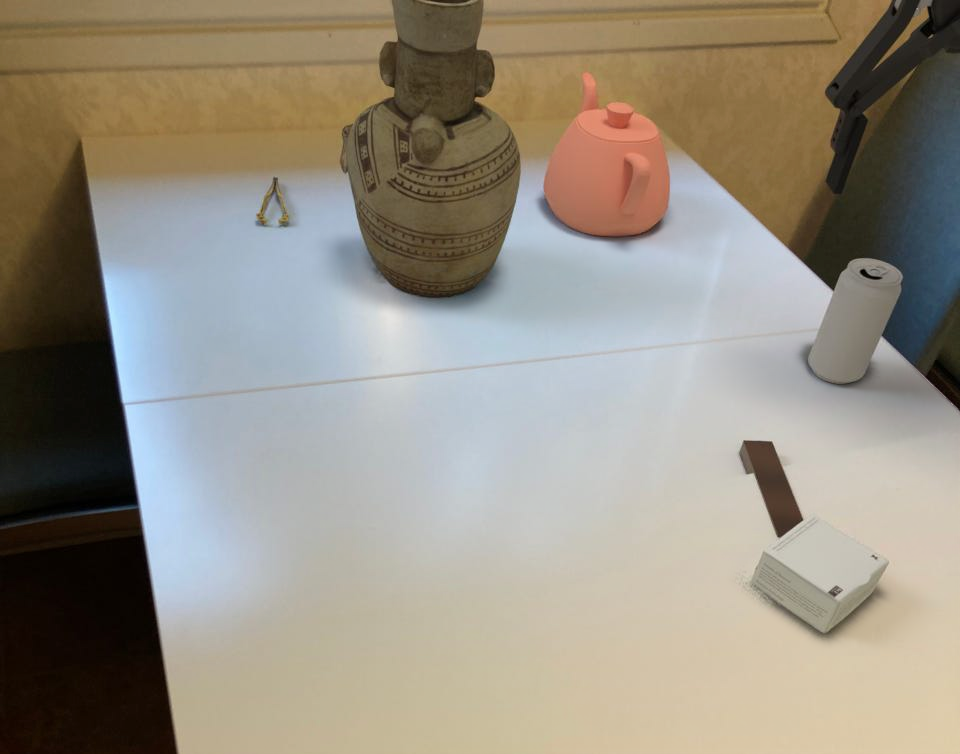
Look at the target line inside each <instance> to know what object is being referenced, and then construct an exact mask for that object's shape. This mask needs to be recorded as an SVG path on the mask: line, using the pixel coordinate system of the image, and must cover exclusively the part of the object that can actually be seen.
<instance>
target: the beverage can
mask: <svg viewBox="0 0 960 754" xmlns="http://www.w3.org/2000/svg"><path fill="white" fill-rule="evenodd" d="M903 279H904V276H903V274H902V271H900V270H899V269H898V268H897V267H895V266H894V265H892V264H890V263H888V262H885V261H884V260H883V261H882V260H880V259H875V258H870V257H869V258H868V257H867V258H866V257H861V258H855V259H852V260H851V261H849V262H848V264H847V266H846V268H845V269H843V271H842V272H841V273H840V274H839V276H838V280H837V282H836V284H835V287H834V290H833V293H832V295H831V298H830V300H829V303H828V304H827V305H828V306H827V308H826V310H825V313H824V316H823V318H822V321H821V323H820V326H819V328H818V331H817V333H816V336H815V339H814V342H813V344H812V346H811V349H810V351H809V354H808V357H807V363H808V366H809V367H810V368H811V370H812V373H814V375H815V376H817V377H818V378H819V379H820V380H822V381H825V382H828V383H832V384H837V385H838V384H839V385H845V384H850V383H852V382H856V381H858V380H861V379H862V378H863V377H864V375H865V374H866V372H867V369H868V368H869V365H870V362H871V360H872V358H873V356H874V353H875V351H876V349H877V347H878V345H879V343H880V340H881V338H882V335H883V333H884V331H885V329H886V327H887V325H888V323H889V320H890V317H891V315H892V313H893V311H894V309H895V306H896V304H897V301H898V300H899V297H900V295H901V293H902V284H901V283H902V281H903Z"/></svg>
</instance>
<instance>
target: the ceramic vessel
mask: <svg viewBox="0 0 960 754" xmlns="http://www.w3.org/2000/svg"><path fill="white" fill-rule="evenodd" d="M391 4H392V12H393V20H394V27H395V31H396V35H397V41H386V42H385V43H384V44H383V46H382V48H381V50H380V52H379V60H378V68H379V75H380V78H381V80H382V82H383V84H384V85H385V86H386V87H389V88H393V89H394V90H393V96H391V97H390V96H389V97H386V98H384V99H381V101H379V102H377V103H375V104H372V105H371V106H369V107H367V108H366V109H365V110H363V111H362V112H361V113H360V114H359V115H358V116H357V117H356V119H354V122H353V123H351V124H347V125H345V126H344V127H343V128H342V129H341V138H342V147H341V148H342V149H341V153H340V157H339V164H340V168H341V170H342V173H343V174H344V175H346V174H347V175H348V180H349V185H350V189H351V195H352V198H353V203H354V208H355V214H356V218H357V222H358V227H359V230H360V234H361V236H362V239H363V241H364V245H365V246H366V250H367V252H368V254H369V256H370V258H371V259H372V261H373V263H374V265H375V266H376V268H377V270H378V271H379V272H380V274H381V276H382V277H383V278H384V279H385V280H386V281H387V282H388V284H390V285H391V287H393V288H394V289H396V290H397V291H400V292H403V293H405V294H408V295H411V296H415V297H416V296H417V297H421V298H427V299H428V298H429V299H442V298H443V299H444V298H449V299H450V298H454V297H456V296H460V295H463V294H465V293H467V292H471V291H473V290H475V289H476V288H477V287H478V286H479V284H480V283H481V282H482V281H483V280H484V279H485V278H486V277H487V276H488V274H489V273H490V272H491V270H493V267H494V266H495V263H496V261H497V259H498V258H499V255H500V253H501V250H502V248H503V246H504V242H505V240H506V237H507V234H508V231H509V228H510V225H511V221H512V218H513V214H514V212H515V211H514V210H515V207H516V202H517V198H518V194H519V189H520V181H521V175H522V174H521V172H522V169H521V168H522V166H521V165H522V164H521V163H522V162H521V154H520V153H521V152H520V148H519V144H518V141H517V138H516V136H515V134H514V132H513V130H512V129H511V126H510V125H509V123H508V122H507V121H506V120H505V119H504V118H503V117H502V116H501V115H500V114H499V113H497V112H496V111H494V110H493V109H491V108H489V107H487V106H486V105H485V104H483V103H481V102H479V101H476V98H481V99H482V98H485V97H486V96H487V95H488V94H490V92H491V91H492V90H493V89H492V88H493V84H494V82H495V78H496V74H495V73H496V67H495V64H494V59H493V56H492V54H491V52H490V51H488V50H486V49H478V47H477V46H478V40H479V37H480V34H481V30H482V25H483V24H482V23H483V17H484V16H483V15H484V5H485V2H484V0H391Z"/></svg>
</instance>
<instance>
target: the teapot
mask: <svg viewBox="0 0 960 754" xmlns="http://www.w3.org/2000/svg"><path fill="white" fill-rule="evenodd" d="M581 82H582V98H581V99H582V100H581V104H580V109H579V113H578V115H576V117H575V118H574V119H573V120H572V122H571V123H570V124H569V126H568V127H567V128H566V130H565V132H564V133H563V135H562V136H561V138H560V139H559V141H558V143H557V144H556V146H555V148H554V149H553V152H552V153H551V157H550V158H549V162H548V164H547V168H546V171H545V174H544V179H543V186H542V187H543V193H544V198H545V200H546V201H547V204H548V205H549V208H550V209H551V211H552V212H553V214H554V216H555V218H557V219H558V220H559V221H560V222H561V223H563V224H565V225H566V226H568V227H569V228H571V229H572V230H575V231H577V232H580V233H583V234H587V235H592V236H598V237H599V236H601V237H627V236H634V235H640V234H642V232H643V233H646V232H647V231H649V230H650V229H652V227H654V226H655V225H656V224H657V223H659V221H661V219H663V217H664V216H665V215H666V213H667V210H668V208H669V202H670V194H671V192H670V191H671V175H670V174H671V173H670V167H669V162H668V157H667V154H666V149H665V145H664V142H663V139H662V136H661V133H660V131H659V129H658V127H657V126H656V124H655V123H654V122H653V121H652V120H650V119H649V118H647V117H646V116H644V115H642V114H640V113H637V112H635V107H633V106H632V105H630V104H629V103H625V102H618V101H616V102H610V103H608V104H607V105H606V108H599V107H600V106H599V97H598V88H597V87H598V86H597V83H596V80H595V78H594V76H593V75H592V74H591V73H590V72H587V71H585V72H582V75H581Z"/></svg>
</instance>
